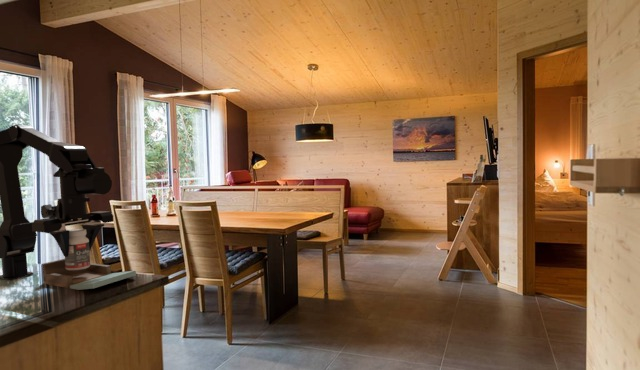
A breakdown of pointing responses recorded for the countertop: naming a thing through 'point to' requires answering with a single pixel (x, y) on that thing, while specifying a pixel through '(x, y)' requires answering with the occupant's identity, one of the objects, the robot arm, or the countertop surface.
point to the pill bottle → (78, 250)
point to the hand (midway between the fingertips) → (77, 253)
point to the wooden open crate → (71, 273)
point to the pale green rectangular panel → (103, 280)
